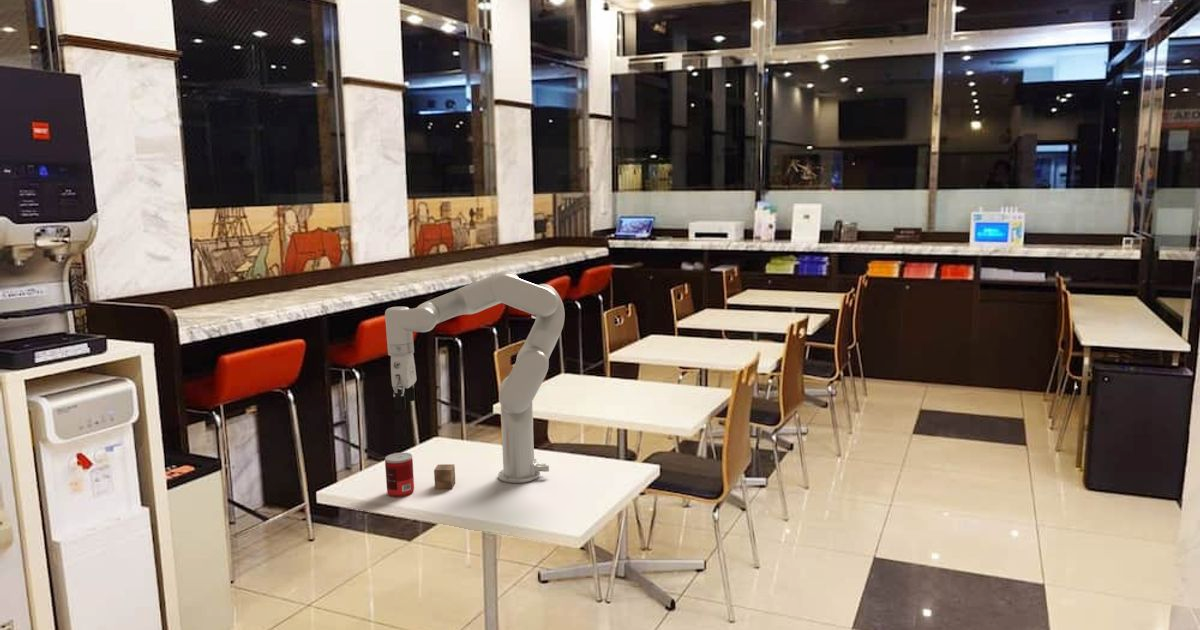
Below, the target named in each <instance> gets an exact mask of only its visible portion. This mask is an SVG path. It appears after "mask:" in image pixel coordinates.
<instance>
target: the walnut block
mask: <svg viewBox="0 0 1200 630" xmlns="http://www.w3.org/2000/svg"><path fill="white" fill-rule="evenodd" d="M455 465H456V464H445V463H444V464H443V463H442V464H437V465H436V467H435V468H434V469H433V473H434V476H433V477H434V478H433V479H434V490H453V489H454V487H455V485H456V470H455V469H456V467H455Z"/></svg>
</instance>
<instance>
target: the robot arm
mask: <svg viewBox="0 0 1200 630" xmlns="http://www.w3.org/2000/svg"><path fill="white" fill-rule="evenodd" d="M499 304H503V305H504V304H505V305H507V306H509V307H512V308H514V309H517V310H519V311H523V312H524V313H528V314H530V315H533V316H535V321H534V323H533V325H532V327H531V329H530V331H529V333H528V335H527V337H526V339H525V341H524V343H523V345H521V346H522V347H521V348H520V349H519V351H518V352H517V355H516V361H515V363H514V365H513V367H512V369H511V370H510V373H509V374H508V376H505V378H504V379H503V380H502V382H501V384H500V387H499V393H498V401H499V404H500V421H501V440H502V441H501V444H502V445H501V446H502V467H503V469H502V470H499V472H498V479H499V480H500V481H502V482H504V483H511V484H522V483H529V482H532V481H535V480H537V479H538V478H539V477H540V475H541V472H545V473H546V472H547V473H548V472H550V465H548V464H547V463H539V462H537V458H535V448H534V446H535V445H534V444H535V443H534V415H533V413H534V412H533V401H534V399H535V397H536V396H537V393H538V391H539V389H540V388H541V386H542V383H543V381H544V379H545V378H546V376H547V373H548V372H549V371H548V370H549V365H550V364H549V363H550V361H549V359H550V357H551V355H552V352H553V350H554V349H555V347H556V345H557V343H558V340H559V338H560V336H561V334H562V332H563V331H562V330H563V328H564V324H565V315H566V314H565V313H566V312H565V307H564V303H563V300H562V298H561V296H560V294H559V293H558V291H557V290H556V289H555V288H554V286H551V285H550V284H547V283H540V284H535V283H532V282H530V281H527V280H524V279H521V278H519V276H518V275H517V274H516V273H515V272H514V271H510V270H504V271H500V272H497V273H495V274H491V275H490V276H487V277H484V278H483V279H480V280H478V281H475V282H472V283H470V284H467V285H465V286H462V287H459V288H458V289H455V290H453V291H450V292H448V293H445V294H443V295H440V296H437V297H434V298H432V299H429V300H427V301H424V302H423V303H421V304H419V305H418V306H417V307H413V308H409V307H408V306H392V307H388V308H387V309H386V310H385V312H384V319H385V330H386V332H385V333H386V343H387V355H388V356H390V377H391V386H392V389H393V390H392V392H393V405H394V410H395V411H404V410H406V409H407V406H406V404H407V402H414V401H416V396H415V384H416V382H417V372H416V363H415V362H416V361H415V357H414V353H415V345H414V344H415V343H414V333H427V332H430V331H432V330H433V329H434V328H435V327H436V325H437V324H440V323H442V322H445V321H447V320H450V319H452V318H455V317H459V316H462V315H474V314H477V313H481V312H482V311H484V310H486V309H490V308H491V307H494V306H497V305H499ZM413 332H414V333H413Z"/></svg>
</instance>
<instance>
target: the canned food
mask: <svg viewBox="0 0 1200 630" xmlns="http://www.w3.org/2000/svg"><path fill="white" fill-rule="evenodd" d="M413 462H414V461H413V455H412V454H411V453H409V452H394V453H391V454H388V455H386V456H385V457H384V464H385V465H384V467H385V483H386V493H387V495H388V496H389V497H391V498H404V497H407V496H410V495H412V494H413V493H414V491H415V478H414V464H413Z"/></svg>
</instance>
